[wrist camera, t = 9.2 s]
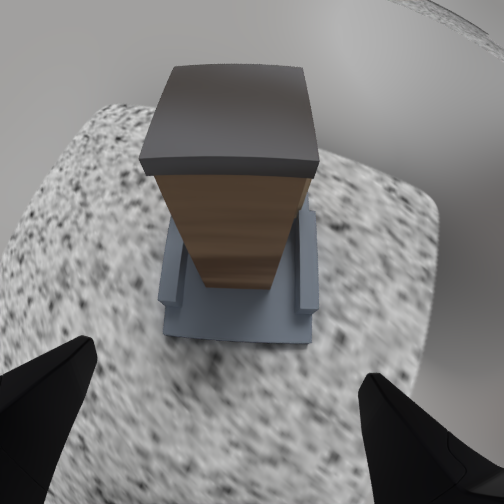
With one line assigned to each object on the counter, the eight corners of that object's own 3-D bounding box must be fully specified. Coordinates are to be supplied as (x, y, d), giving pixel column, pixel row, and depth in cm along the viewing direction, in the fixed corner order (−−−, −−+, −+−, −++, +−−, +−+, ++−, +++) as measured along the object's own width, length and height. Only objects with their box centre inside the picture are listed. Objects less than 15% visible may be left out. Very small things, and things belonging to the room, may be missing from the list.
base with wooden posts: (308, 343, 19) (345, 331, 12) (166, 335, 19) (122, 318, 12) (305, 198, 24) (327, 132, 17) (186, 192, 24) (167, 125, 16)
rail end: (272, 291, 20) (319, 161, 7) (203, 289, 20) (138, 158, 7) (272, 229, 22) (302, 67, 9) (208, 227, 22) (173, 66, 9)
